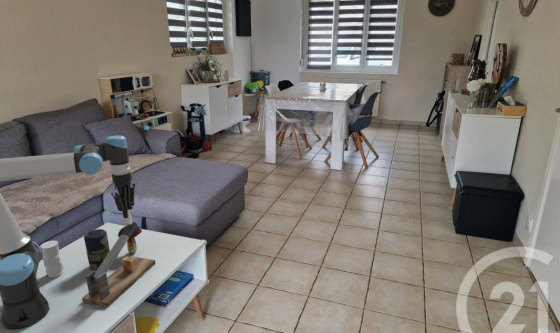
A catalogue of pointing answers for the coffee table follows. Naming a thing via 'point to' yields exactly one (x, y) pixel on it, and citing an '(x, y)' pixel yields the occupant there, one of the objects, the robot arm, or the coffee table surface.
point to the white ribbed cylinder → (52, 259)
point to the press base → (116, 281)
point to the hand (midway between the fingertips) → (128, 223)
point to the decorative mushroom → (131, 239)
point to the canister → (96, 247)
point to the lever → (115, 250)
